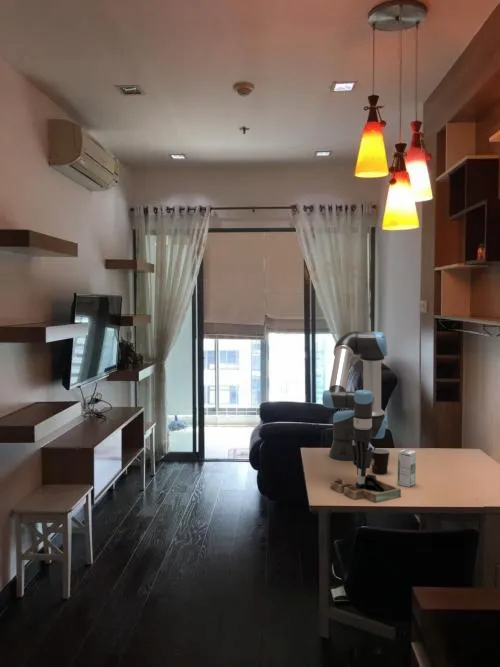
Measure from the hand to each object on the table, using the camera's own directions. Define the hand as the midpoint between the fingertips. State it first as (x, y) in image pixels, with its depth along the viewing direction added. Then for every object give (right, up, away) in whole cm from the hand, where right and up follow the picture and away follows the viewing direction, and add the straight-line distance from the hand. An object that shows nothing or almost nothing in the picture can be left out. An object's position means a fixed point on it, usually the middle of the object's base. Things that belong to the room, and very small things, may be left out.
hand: (361, 483), depth 226 cm
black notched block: (+5, -4, 0) cm, 6 cm away
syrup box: (+20, -2, +5) cm, 21 cm away
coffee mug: (+13, -1, +24) cm, 28 cm away
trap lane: (0, -2, -4) cm, 5 cm away
